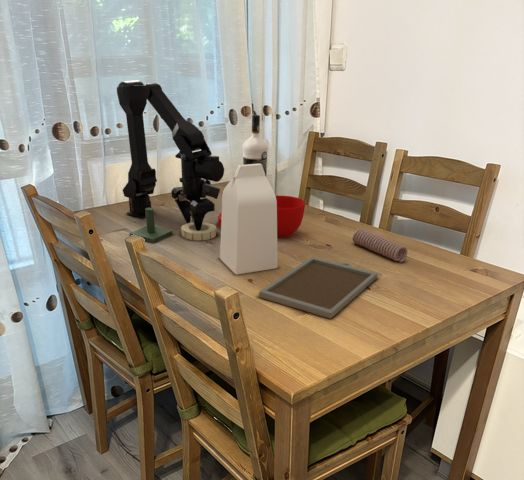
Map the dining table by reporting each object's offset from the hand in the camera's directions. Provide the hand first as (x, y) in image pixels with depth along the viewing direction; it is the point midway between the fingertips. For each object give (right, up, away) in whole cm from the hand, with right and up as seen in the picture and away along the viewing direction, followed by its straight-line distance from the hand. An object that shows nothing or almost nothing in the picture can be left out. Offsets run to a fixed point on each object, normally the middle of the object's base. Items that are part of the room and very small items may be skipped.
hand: (193, 226), depth 171 cm
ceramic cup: (+26, -1, +2) cm, 27 cm away
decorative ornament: (+12, +2, +6) cm, 13 cm away
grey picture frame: (+36, -22, -31) cm, 53 cm away
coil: (+55, -10, -10) cm, 57 cm away
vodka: (+18, +12, +22) cm, 31 cm away
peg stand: (-12, -4, -5) cm, 13 cm away
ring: (+2, -3, -2) cm, 4 cm away
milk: (+17, -15, -20) cm, 31 cm away
